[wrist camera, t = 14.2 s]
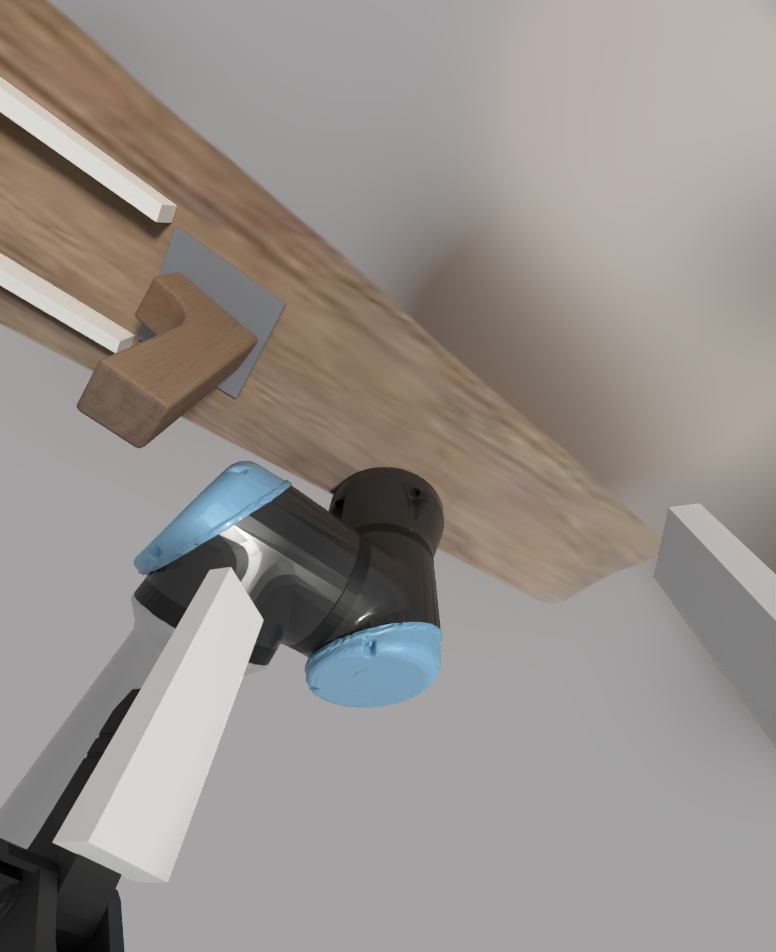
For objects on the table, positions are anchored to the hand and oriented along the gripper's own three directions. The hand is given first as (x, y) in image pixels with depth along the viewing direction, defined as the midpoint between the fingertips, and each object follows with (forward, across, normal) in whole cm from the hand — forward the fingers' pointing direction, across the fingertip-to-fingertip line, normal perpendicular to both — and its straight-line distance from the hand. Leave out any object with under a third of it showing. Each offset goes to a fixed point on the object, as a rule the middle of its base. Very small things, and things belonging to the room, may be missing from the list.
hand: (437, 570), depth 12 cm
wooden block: (+31, +20, -6) cm, 38 cm away
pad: (+32, +20, -6) cm, 38 cm away
